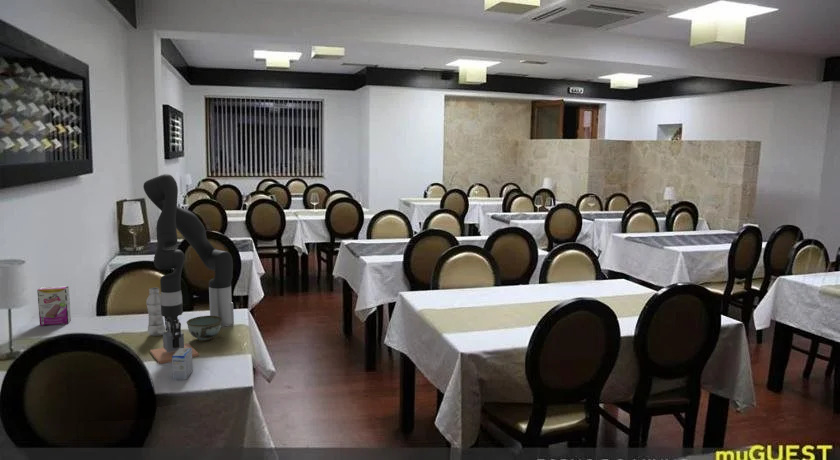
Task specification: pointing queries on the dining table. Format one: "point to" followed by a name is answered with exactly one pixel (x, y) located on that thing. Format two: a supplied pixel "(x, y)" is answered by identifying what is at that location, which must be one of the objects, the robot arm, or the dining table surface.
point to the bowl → (204, 327)
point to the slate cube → (168, 341)
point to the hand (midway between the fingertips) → (173, 345)
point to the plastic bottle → (155, 313)
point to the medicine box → (182, 363)
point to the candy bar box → (54, 305)
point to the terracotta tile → (169, 354)
